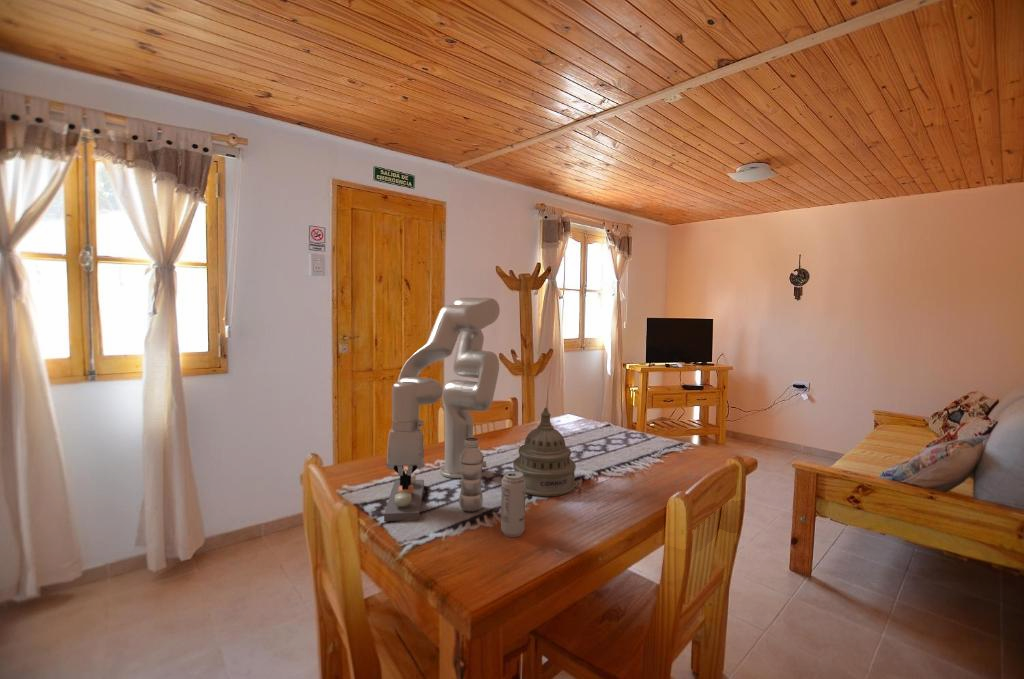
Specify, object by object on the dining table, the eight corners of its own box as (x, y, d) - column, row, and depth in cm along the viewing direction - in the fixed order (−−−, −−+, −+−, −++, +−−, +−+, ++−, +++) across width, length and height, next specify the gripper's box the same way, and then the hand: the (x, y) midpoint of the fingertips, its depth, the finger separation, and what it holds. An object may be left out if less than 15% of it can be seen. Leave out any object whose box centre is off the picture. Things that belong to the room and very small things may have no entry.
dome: (506, 412, 140) (522, 399, 159) (504, 492, 142) (521, 470, 161) (572, 417, 134) (581, 403, 154) (570, 501, 136) (579, 476, 156)
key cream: (416, 478, 144) (416, 472, 143) (415, 484, 139) (415, 477, 139) (401, 479, 143) (401, 473, 143) (400, 484, 139) (400, 478, 138)
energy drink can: (525, 537, 115) (526, 478, 113) (501, 538, 114) (502, 479, 113) (523, 526, 120) (524, 470, 119) (500, 526, 120) (501, 470, 119)
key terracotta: (414, 490, 136) (414, 484, 136) (413, 497, 132) (413, 490, 132) (398, 491, 136) (398, 484, 135) (397, 497, 131) (397, 490, 131)
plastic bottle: (460, 503, 133) (461, 435, 132) (484, 504, 133) (484, 436, 131) (457, 514, 127) (457, 442, 125) (481, 514, 127) (482, 443, 125)
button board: (424, 485, 146) (424, 479, 146) (418, 519, 123) (418, 512, 123) (394, 486, 145) (394, 480, 145) (384, 521, 122) (384, 513, 122)
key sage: (412, 499, 129) (412, 492, 129) (410, 506, 124) (410, 498, 124) (395, 499, 128) (395, 492, 128) (393, 506, 124) (393, 499, 124)
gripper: (432, 421, 137) (432, 482, 138) (380, 422, 135) (380, 483, 136) (431, 428, 129) (431, 492, 131) (376, 429, 127) (376, 493, 129)
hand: (405, 487), depth 133 cm, fingers closed
